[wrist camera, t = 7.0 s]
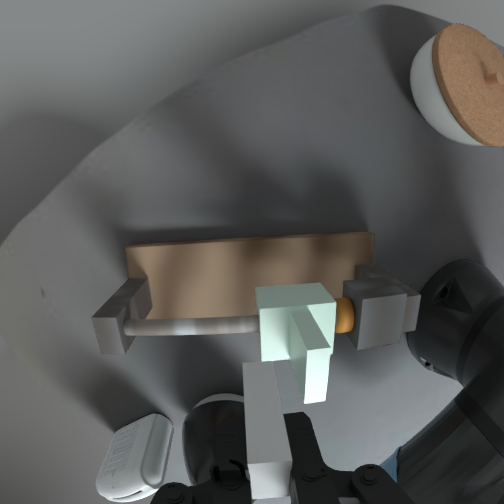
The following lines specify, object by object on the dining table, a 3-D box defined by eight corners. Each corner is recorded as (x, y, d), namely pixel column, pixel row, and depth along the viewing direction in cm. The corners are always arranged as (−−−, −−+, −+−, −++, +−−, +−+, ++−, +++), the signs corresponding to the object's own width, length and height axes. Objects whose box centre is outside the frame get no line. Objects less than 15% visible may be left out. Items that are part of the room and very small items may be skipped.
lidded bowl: (376, 48, 25) (429, 6, 14) (453, 52, 25) (509, 28, 14) (408, 156, 28) (478, 152, 17) (480, 144, 28) (544, 142, 17)
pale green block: (320, 282, 23) (365, 338, 14) (318, 328, 24) (356, 397, 15) (255, 287, 23) (268, 350, 14) (257, 334, 24) (269, 410, 15)
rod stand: (368, 231, 29) (429, 257, 19) (363, 312, 32) (411, 364, 21) (129, 244, 28) (79, 279, 18) (143, 327, 30) (109, 388, 20)
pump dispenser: (174, 420, 34) (156, 515, 19) (207, 367, 32) (196, 476, 17) (243, 444, 35) (248, 536, 21) (284, 397, 34) (307, 498, 19)
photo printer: (132, 447, 35) (113, 511, 23) (110, 430, 34) (85, 494, 22) (179, 426, 34) (167, 500, 22) (156, 407, 33) (136, 482, 21)
